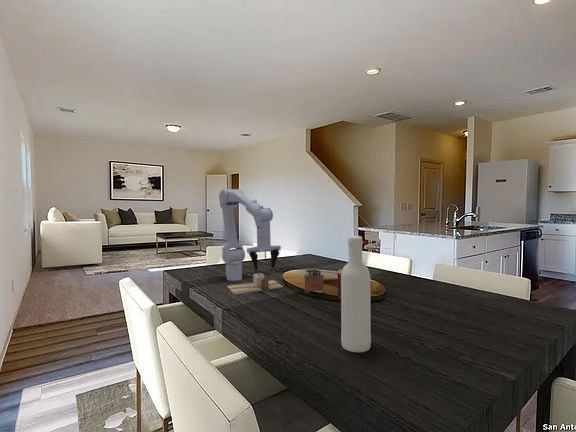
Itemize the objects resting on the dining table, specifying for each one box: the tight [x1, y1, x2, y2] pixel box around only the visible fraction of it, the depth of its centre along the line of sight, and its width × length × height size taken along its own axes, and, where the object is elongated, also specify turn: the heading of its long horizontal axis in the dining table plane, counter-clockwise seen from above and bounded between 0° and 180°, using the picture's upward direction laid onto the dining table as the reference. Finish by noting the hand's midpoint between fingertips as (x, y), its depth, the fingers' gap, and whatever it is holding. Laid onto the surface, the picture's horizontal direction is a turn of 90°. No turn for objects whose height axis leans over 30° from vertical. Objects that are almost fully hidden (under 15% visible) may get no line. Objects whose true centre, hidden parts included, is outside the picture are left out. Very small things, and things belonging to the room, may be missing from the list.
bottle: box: [340, 235, 372, 353], centre depth 89 cm, size 8×8×30 cm
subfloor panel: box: [226, 279, 284, 295], centre depth 146 cm, size 14×22×1 cm, turn 113°
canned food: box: [336, 268, 343, 301], centre depth 130 cm, size 8×8×11 cm
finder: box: [252, 273, 265, 286], centre depth 149 cm, size 6×4×4 cm, turn 23°
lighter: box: [304, 268, 325, 294], centre depth 139 cm, size 8×3×10 cm, turn 84°
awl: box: [261, 274, 269, 289], centre depth 142 cm, size 3×3×6 cm
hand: (264, 268), depth 142 cm, fingers open, 7 cm apart
